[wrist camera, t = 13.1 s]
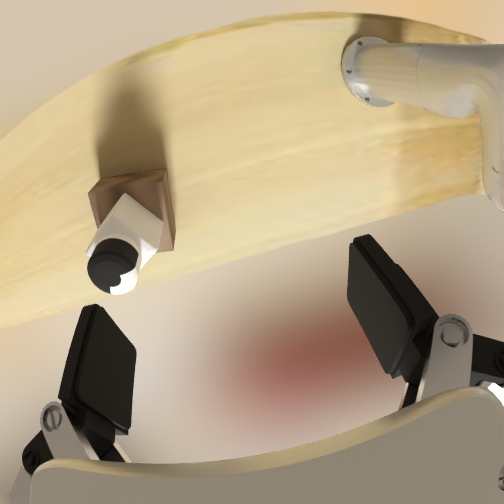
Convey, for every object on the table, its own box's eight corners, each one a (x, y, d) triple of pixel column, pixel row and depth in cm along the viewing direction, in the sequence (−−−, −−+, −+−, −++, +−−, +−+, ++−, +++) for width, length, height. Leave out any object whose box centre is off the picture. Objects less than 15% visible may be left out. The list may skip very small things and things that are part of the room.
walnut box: (166, 167, 38) (161, 181, 34) (175, 230, 45) (173, 250, 40) (100, 178, 37) (87, 193, 32) (115, 237, 43) (107, 257, 38)
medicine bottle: (99, 226, 35) (71, 279, 25) (125, 191, 33) (98, 237, 23) (136, 253, 39) (121, 310, 29) (164, 221, 37) (154, 276, 27)
